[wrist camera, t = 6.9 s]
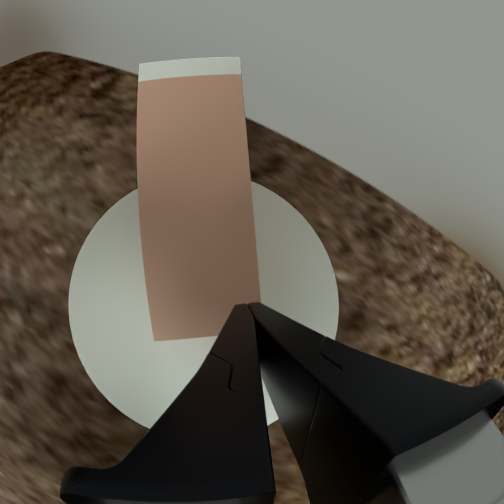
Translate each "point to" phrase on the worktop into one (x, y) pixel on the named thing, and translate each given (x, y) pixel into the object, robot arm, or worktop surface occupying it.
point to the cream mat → (138, 316)
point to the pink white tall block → (194, 195)
